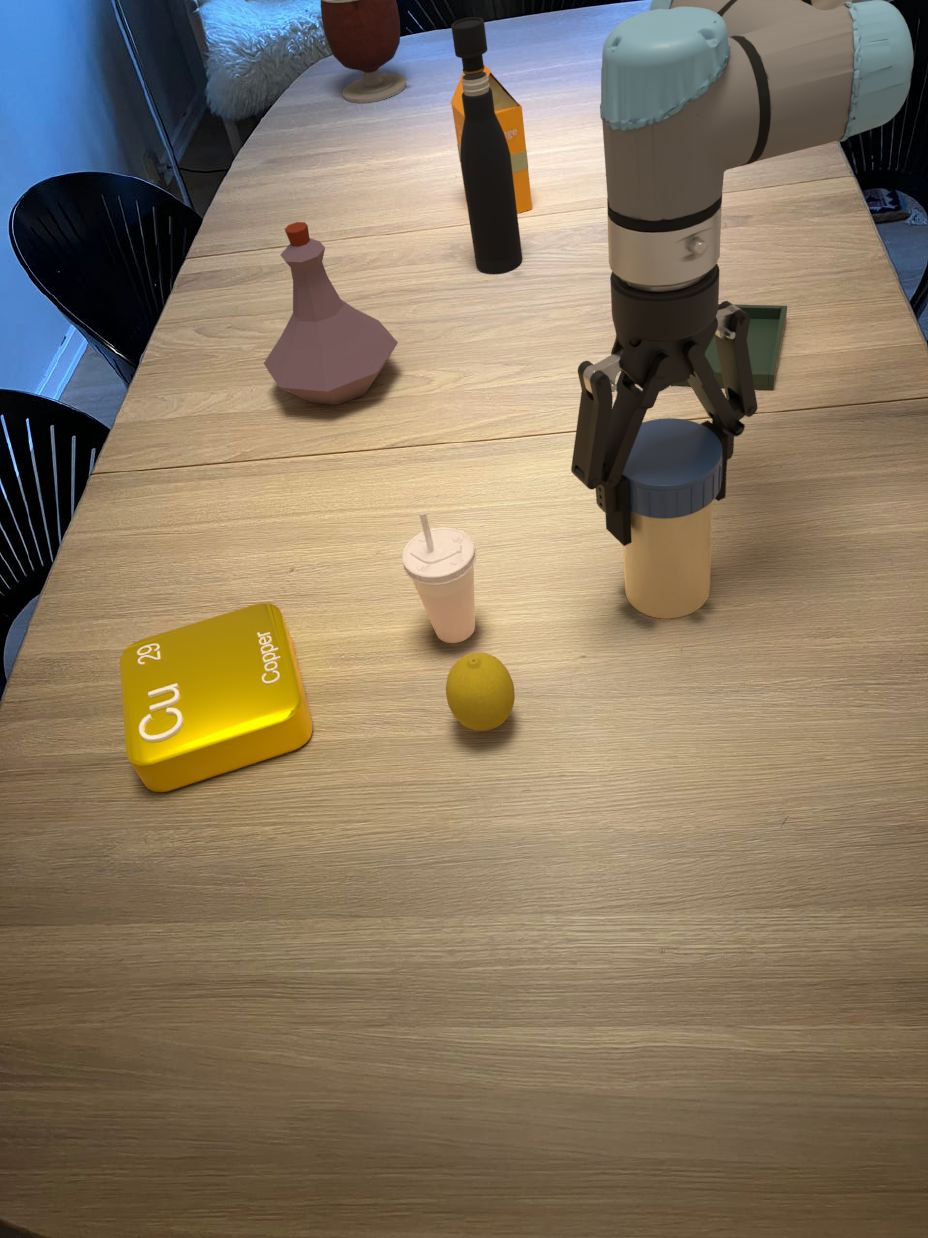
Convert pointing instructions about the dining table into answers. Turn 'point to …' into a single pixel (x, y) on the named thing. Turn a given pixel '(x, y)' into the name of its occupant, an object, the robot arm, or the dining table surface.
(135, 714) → the element tile
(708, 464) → the lid
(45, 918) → the dining table surface
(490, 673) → the lemon
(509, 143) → the orange juice
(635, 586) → the jar
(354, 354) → the flask
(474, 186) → the black water bottle
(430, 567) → the smoothie
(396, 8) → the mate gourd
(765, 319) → the tray
